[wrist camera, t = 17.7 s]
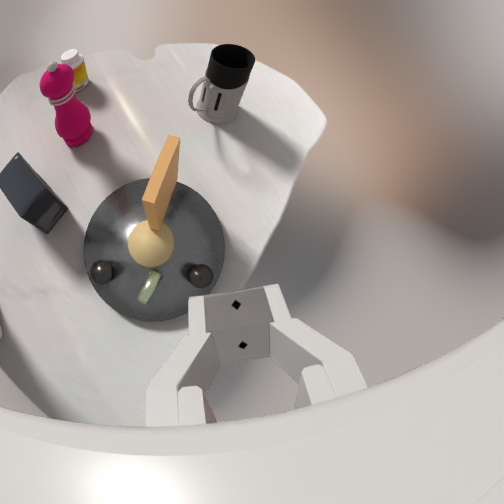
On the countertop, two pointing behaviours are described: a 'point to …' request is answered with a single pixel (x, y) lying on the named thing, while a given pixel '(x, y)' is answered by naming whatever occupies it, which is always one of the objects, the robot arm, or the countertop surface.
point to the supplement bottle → (76, 67)
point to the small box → (30, 194)
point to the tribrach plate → (161, 278)
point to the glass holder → (223, 83)
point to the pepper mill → (66, 104)
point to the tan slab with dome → (157, 211)
